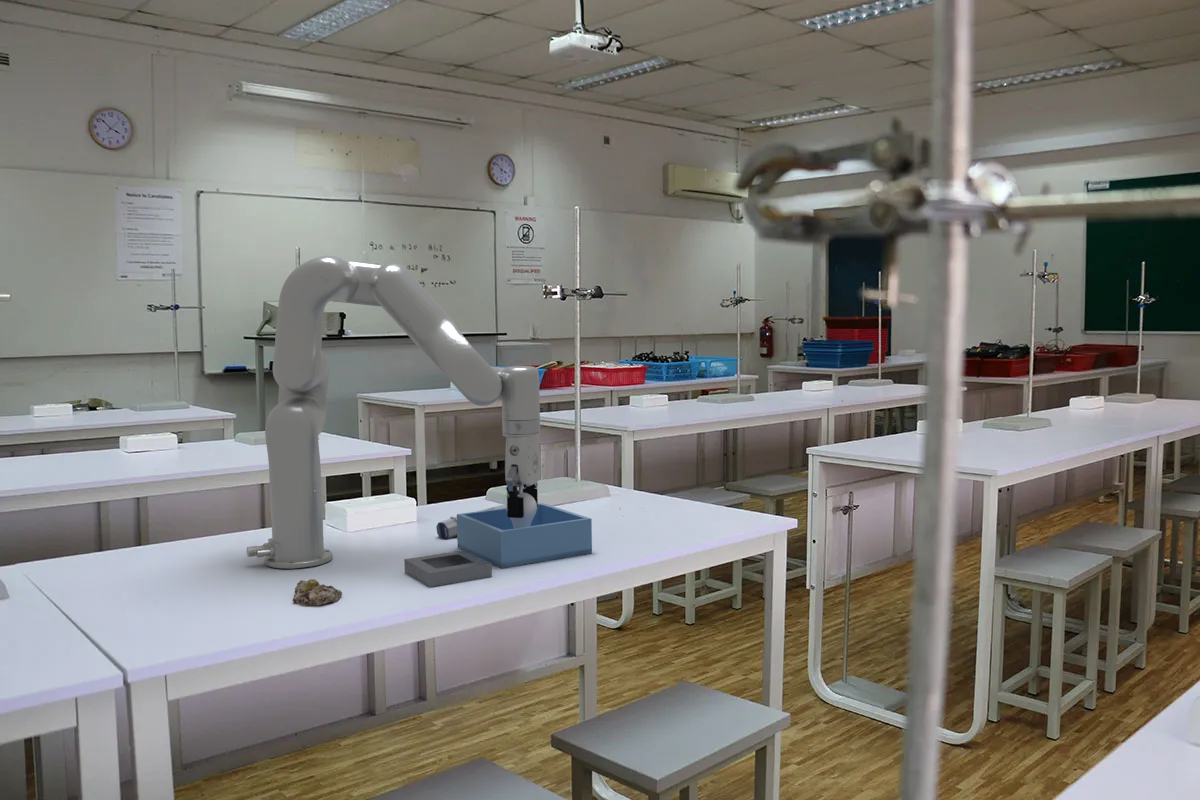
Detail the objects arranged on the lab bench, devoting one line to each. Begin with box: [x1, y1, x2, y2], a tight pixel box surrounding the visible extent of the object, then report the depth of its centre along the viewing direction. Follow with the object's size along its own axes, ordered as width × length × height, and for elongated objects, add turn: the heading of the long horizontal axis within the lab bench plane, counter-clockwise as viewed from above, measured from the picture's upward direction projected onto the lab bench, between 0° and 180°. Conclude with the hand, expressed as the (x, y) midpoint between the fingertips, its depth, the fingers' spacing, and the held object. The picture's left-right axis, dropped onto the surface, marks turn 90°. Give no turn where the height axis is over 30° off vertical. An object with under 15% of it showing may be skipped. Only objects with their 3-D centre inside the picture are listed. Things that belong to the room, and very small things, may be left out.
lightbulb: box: [506, 492, 537, 529], centre depth 191 cm, size 6×6×11 cm
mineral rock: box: [292, 578, 343, 607], centre depth 161 cm, size 11×4×8 cm
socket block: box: [404, 549, 493, 588], centre depth 175 cm, size 12×12×2 cm
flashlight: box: [435, 503, 507, 540], centre depth 212 cm, size 5×7×25 cm
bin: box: [456, 502, 593, 569], centre depth 192 cm, size 20×20×7 cm
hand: (522, 512), depth 192 cm, fingers open, 9 cm apart
